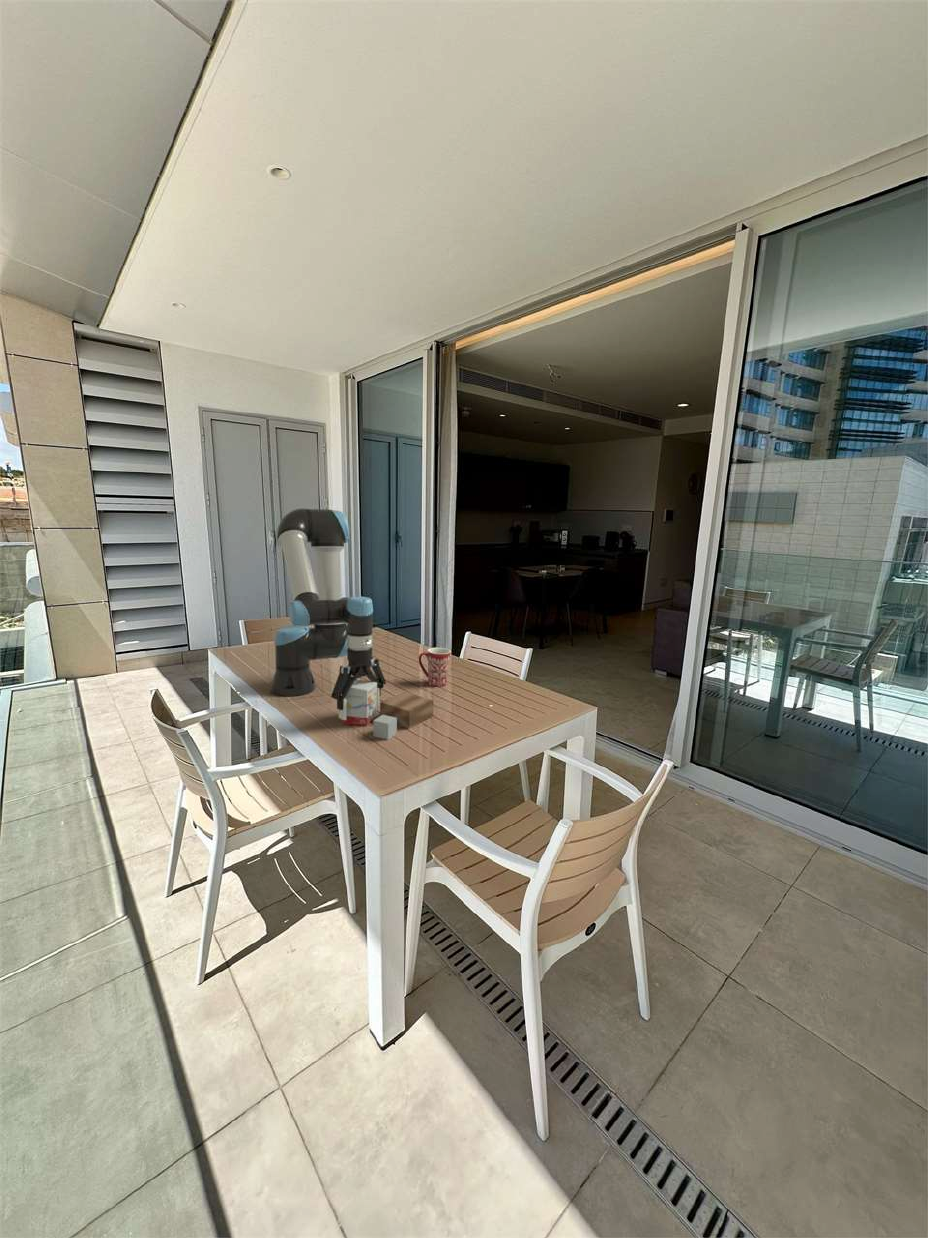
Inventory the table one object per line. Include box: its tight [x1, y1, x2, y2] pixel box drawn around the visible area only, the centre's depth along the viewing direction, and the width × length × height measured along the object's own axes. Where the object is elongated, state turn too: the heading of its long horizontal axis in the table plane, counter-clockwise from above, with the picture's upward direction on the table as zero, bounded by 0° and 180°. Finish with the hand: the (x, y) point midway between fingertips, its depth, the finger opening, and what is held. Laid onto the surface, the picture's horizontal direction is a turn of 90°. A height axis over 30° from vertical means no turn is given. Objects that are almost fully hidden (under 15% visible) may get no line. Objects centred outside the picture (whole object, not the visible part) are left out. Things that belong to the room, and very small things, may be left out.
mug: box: [418, 647, 451, 688], centre depth 194 cm, size 13×9×14 cm
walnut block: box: [379, 691, 434, 730], centre depth 160 cm, size 12×12×6 cm
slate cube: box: [372, 715, 398, 741], centre depth 147 cm, size 5×5×5 cm
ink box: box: [341, 679, 377, 727], centre depth 157 cm, size 9×9×12 cm
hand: (359, 712), depth 157 cm, fingers open, 13 cm apart
